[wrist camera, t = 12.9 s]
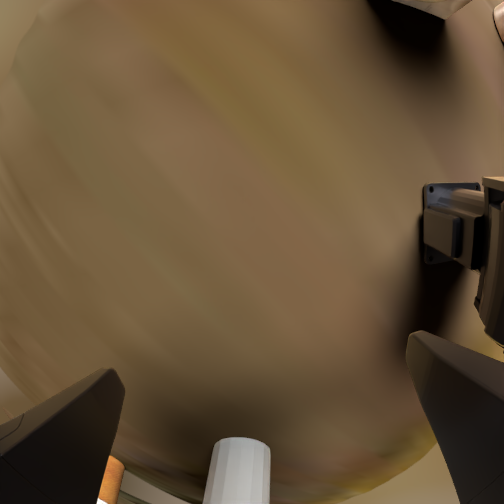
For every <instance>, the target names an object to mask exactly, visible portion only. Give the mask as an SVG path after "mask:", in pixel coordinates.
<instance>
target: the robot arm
mask: <svg viewBox="0 0 504 504" xmlns="http://www.w3.org/2000/svg"><path fill="white" fill-rule="evenodd" d="M482 185H483V186H484V192H481V189H480V185H479V183H477V182H439V183H426V184H425V186H424V207H425V210H424V261H425V262H426V263H427V264H429V265H431V264H436V263H442V262H447V261H452V260H455V261H457V262H459V263H460V264H462V265H464V266H466V267H467V268H469V269H471V270H472V271H474V272H476V273H477V274H479V275H480V278H479V285H478V291H477V296H476V297H475V301H474V305H475V307H476V309H477V311H478V312H479V316H480V318H481V320H482V322H483V324H484V325H485V329H484V331H485V333H486V334H487V335H488V336H489V337H490V338H491V339H492V340H493V341H495V342H496V343H497V344H498V345H499V346H501V347H502V348H504V177H482ZM429 187H431V191H430V192H429ZM475 187H476V190H475ZM430 256H431V258H430V260H428V259H429V257H430ZM503 353H504V352H503ZM406 363H407V366H408V369H409V372H410V374H411V377H412V380H413V383H414V386H415V389H416V391H417V394H418V397H419V400H420V403H421V405H422V407H423V410H424V412H425V414H426V416H427V418H428V421H429V423H430V425H431V427H432V430H433V432H434V434H435V437H436V439H437V441H438V444H439V446H440V448H441V451H442V454H443V456H444V459H445V461H446V463H447V466H448V469H449V472H450V474H451V477H452V480H453V483H454V486H455V489H456V492H457V495H458V498H459V501H460V504H504V363H503V362H500V361H498V360H495V359H493V358H490V357H488V356H485V355H483V354H480V353H478V352H475V351H473V350H470V349H468V348H465V347H463V346H460V345H458V344H455V343H453V342H450V341H448V340H445V339H443V338H440V337H438V336H435V335H433V334H430V333H428V332H426V331H423V330H421V331H417V332H414V333H411V334H410V335H409V338H408V344H407V350H406ZM124 396H125V387H124V385H123V383H122V381H121V380H120V378H119V376H118V374H117V372H116V371H115V370H114V369H113V368H101V369H99V370H97V371H96V372H94V373H92V374H91V375H89V376H87V377H86V378H84V379H82V380H81V381H79V382H77V383H75V384H74V385H72V386H70V387H69V388H67V389H65V390H63V391H62V392H60V393H58V394H56V395H55V396H53V397H51V398H49V399H48V400H46V401H44V402H42V403H41V404H39V405H37V406H35V407H34V408H32V409H30V410H28V411H26V412H25V413H23V414H21V415H19V416H17V417H16V418H14V419H12V420H10V421H8V422H6V423H4V424H2V425H0V504H97V501H98V497H99V493H100V489H101V485H102V481H103V477H104V473H105V470H106V466H107V463H108V459H109V456H110V452H111V449H112V445H113V442H114V439H115V436H116V432H117V428H118V424H119V419H120V414H121V409H122V405H123V400H124Z"/></svg>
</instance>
